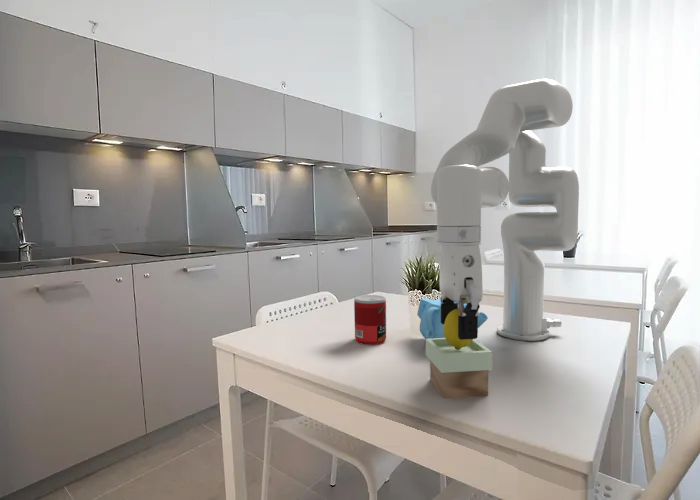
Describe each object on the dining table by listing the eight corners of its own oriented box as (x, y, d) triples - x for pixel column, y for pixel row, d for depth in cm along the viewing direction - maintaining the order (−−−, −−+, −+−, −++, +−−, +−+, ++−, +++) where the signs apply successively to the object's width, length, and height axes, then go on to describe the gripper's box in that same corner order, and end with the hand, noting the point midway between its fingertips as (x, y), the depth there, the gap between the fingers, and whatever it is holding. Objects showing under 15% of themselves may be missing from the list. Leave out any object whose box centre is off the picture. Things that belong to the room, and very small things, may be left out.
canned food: (384, 346, 100) (384, 301, 99) (352, 344, 102) (351, 300, 101) (387, 336, 108) (387, 295, 107) (357, 335, 109) (357, 294, 108)
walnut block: (470, 378, 80) (470, 353, 80) (488, 396, 72) (488, 369, 72) (430, 380, 79) (430, 355, 79) (443, 399, 71) (443, 371, 71)
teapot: (397, 341, 104) (396, 294, 103) (439, 329, 114) (439, 286, 113) (464, 362, 88) (465, 308, 87) (506, 346, 99) (507, 297, 98)
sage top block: (470, 352, 80) (470, 336, 80) (491, 369, 71) (492, 351, 71) (425, 355, 79) (425, 338, 79) (441, 372, 70) (441, 354, 70)
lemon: (468, 358, 72) (472, 313, 71) (437, 350, 75) (441, 307, 74) (476, 349, 76) (480, 307, 75) (447, 342, 79) (451, 301, 78)
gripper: (500, 238, 65) (499, 344, 67) (461, 233, 82) (461, 318, 84) (454, 239, 64) (453, 346, 66) (424, 234, 82) (424, 319, 83)
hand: (457, 330), depth 75 cm, fingers open, 9 cm apart
